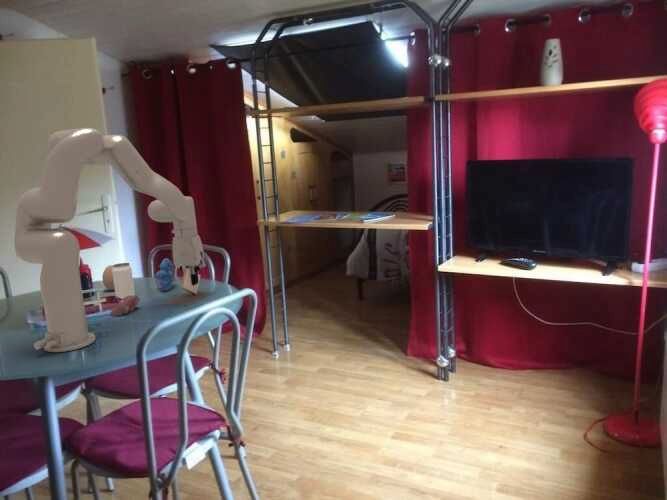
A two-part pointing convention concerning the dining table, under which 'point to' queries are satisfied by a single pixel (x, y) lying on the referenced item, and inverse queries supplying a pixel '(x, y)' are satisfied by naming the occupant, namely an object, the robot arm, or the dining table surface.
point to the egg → (108, 278)
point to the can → (123, 280)
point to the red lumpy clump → (125, 305)
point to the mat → (186, 298)
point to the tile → (189, 282)
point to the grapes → (165, 274)
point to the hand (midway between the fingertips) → (192, 283)
